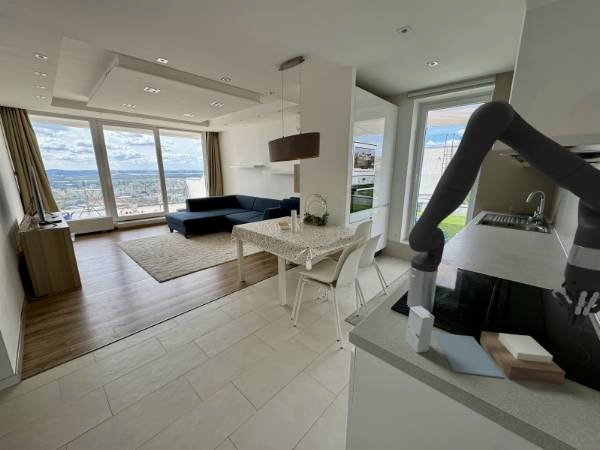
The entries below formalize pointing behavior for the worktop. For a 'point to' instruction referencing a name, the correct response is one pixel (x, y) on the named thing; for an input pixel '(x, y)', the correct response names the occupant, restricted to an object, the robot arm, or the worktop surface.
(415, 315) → the skincare box
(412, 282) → the robot arm
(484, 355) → the mat
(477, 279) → the worktop surface
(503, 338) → the coaster
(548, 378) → the stand
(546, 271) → the worktop surface
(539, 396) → the worktop surface
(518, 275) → the worktop surface
